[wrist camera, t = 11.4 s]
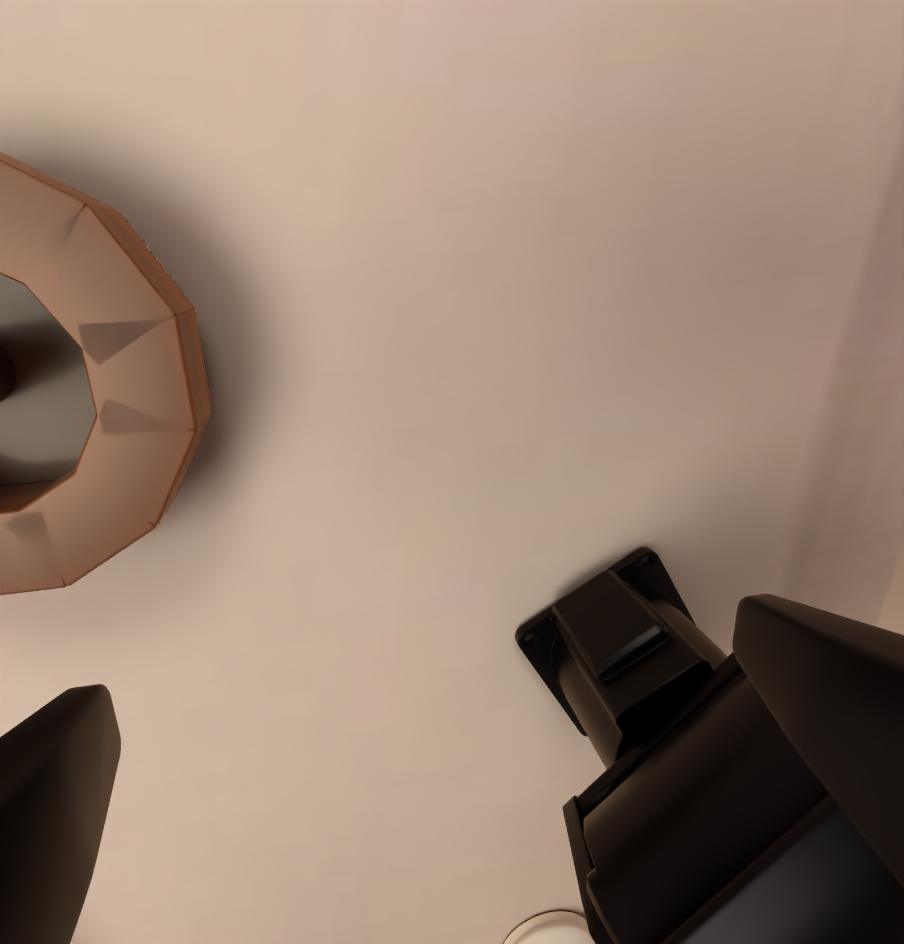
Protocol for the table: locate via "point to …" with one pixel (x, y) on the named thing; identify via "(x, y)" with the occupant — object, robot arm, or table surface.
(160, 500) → the ring
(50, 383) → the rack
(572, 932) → the chess piece
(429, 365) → the table surface
